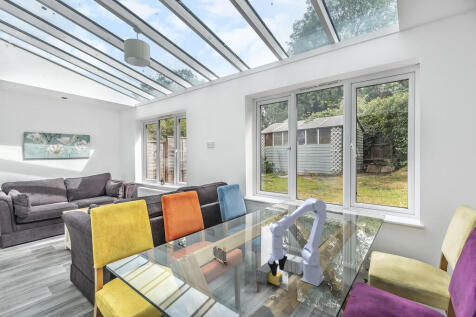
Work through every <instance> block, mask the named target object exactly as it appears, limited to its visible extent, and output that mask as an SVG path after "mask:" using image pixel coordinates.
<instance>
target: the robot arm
mask: <svg viewBox="0 0 476 317" xmlns="http://www.w3.org/2000/svg"><path fill="white" fill-rule="evenodd" d="M326 208H327V204H326V203H325V202H324V200H321V199H318V198H315V197H313V196H309V197H308V198H307V199H306V200H304V202H303V203H302V204H301V205H300V206H298V207H297V208H296V210H294V211H293V212H292V213H291V214H289V213H287V214H284V215H283V217H282V218H281V219H280V220H277V221H276V222H275V223H272V225H271V226H270V228H269V229H270V233H271V249H272V250H271V253H270V258H269V259H268V261H267V263H268V265H269V267H270V269H271V272H272V275H273V276H276V275H277V271H278V269H279V270H280V271H285V270H284V266H285V262H286V260H287V256H285V255H286V253H287V251H286V250H284V238H283V237H284V235H285V232H286V231H288V229H289V228H290V227H292V226H293V225H294V224H295V223H296V220H297V219H299V218H300V217H301V216H302V215H305V213H307V212H311V213H313V215H314V216H315V217H314V220H313V224H312V226H311V231H310V234H309V238H308V240H307V243H306V244H305V245H304V246H303V249H302V250H301V253H300V257H302V258H303V272H302V273H303V276H302V278H300V281H302V282H305V283H307V284H309V285H313V286H316V287H319V286H320V284H321V283H322V282H323V280H324V279H323V278H324V277H323V276H324V275H323V267H322V266H321V265H320V264H319V263H320V260H321V258H320V249H319V245H320V241H321V239H322V238H321V237H322V234H323V231H324V228H325V223H326V220H327V217H328V216H327V209H326ZM276 261H278V262H276Z"/></svg>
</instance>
